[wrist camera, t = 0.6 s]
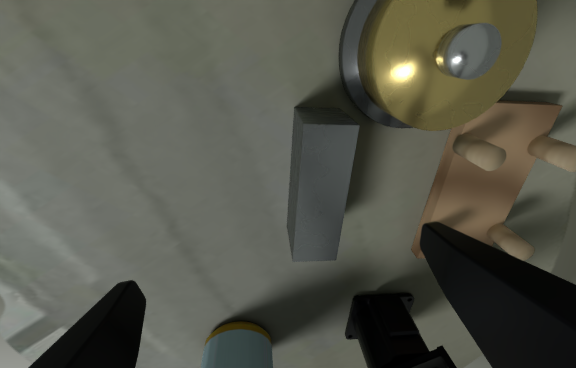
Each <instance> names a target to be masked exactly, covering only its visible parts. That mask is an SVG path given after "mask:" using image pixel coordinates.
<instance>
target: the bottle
mask: <svg viewBox="0 0 576 368" xmlns="http://www.w3.org/2000/svg"><path fill="white" fill-rule="evenodd" d="M201 368H273V360H272V345H271V338H270V336H269V335H268V333H267V332H266V331H265V330H264V329H262V328H261V327H260V326H258V325H256V324H253V323H250V322H243V321H238V322H231V323H228V324H225V325H222V326H221V327H219V328H217V329H216V330H215V331H214V332H213V333H211V334H210V336H209V337H208V338H207V340H206V343H205V347H204V352H203V358H202V363H201Z"/></svg>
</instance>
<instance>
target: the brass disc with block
mask: <svg viewBox="0 0 576 368" xmlns="http://www.w3.org/2000/svg"><path fill="white" fill-rule="evenodd" d="M475 23H489V24H492V25H494V26H495V27H496V28H497V29H498V30H499V32H500V35H501V41H502V44H501V50H500V53H499V56H498V58H497V60H496V62H495V63H494V65H493V66H492V67H491V68H490V69H489V70H488V71H487V72H486V73H485V74H483V75H482V76H480V77H478V78H475V79H471V80H466V79H460V78H455V77H449V76H446V75H444V74H443V73H442V72H441V71H440V70H439V68H438V66H437V61H436V55H437V50H438V47H439V45H440V43H441V41H442V39H443V38H444V36H445V35H446V34H447V33H448V32H449V31H450V30H452V29H453V28H455V27H457V26H459V25H463V24H475ZM536 25H537V0H377V1H376V3H375V4H374V6H373V7H372V9H371V11H370V13H369V14H368V17H367V19H366V21H365V23H364V26H363V29H362V32H361V35H360V40H359V44H358V54H357V65H358V72H359V77H360V81H361V84H362V86H363V89H364V91H365V92H366V94H367V96H368V97H369V99H370V100H371V101H372V102H373V103H374V104H375V105H376V106H377V107H378V108H379V109H381V110H382V111H384V112H386V113H387V114H389V115H391V116H393V117H395V118H396V119H398V120H400V121H402V122H404V123H405V124H407V125H409V126H412V127H414V128H417V129H422V130H429V131H438V130H446V129H451V128H454V127H458V126H460V125H463V124H465V123H468V122H469V121H471V120H473V119H475V118H477V117H478V116H480V115H481V114H483V113H484V112H486V111H487V110H488V109H489V108H491V107H492V106H493V105H494V104H495V103H496V102H497V101H498V100H499V99H500V98H501V97H502V96H503V95H504V94H505V93H506V92H507V90H508V89H509V88H510V87H511V85H512V84H513V82H514V81H515V80H516V78H517V77H518V75H519V73H520V71H521V70H522V68H523V66H524V64H525V62H526V60H527V58H528V55H529V53H530V50H531V47H532V44H533V40H534V36H535V32H536Z"/></svg>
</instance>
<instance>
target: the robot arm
mask: <svg viewBox="0 0 576 368" xmlns="http://www.w3.org/2000/svg"><path fill="white" fill-rule="evenodd" d="M420 248H421V251H422V253H423V255H424V257H425V258H426V260H427V262H428V264H429V266H430V268H431V270H432V272H433V274H434V276H435V278H436V280H437V282H438V284H439V285H440V287H441V289H442V291H443V293H444V294H445V296H446V298H447V299H448V301H449V302H450V304H451V305H452V307H453V309H454V310H455V312H456V313H457V315H458V316H459V318H460V319H461V321H462V322H463V324H464V325H465V327H466V328H467V330H468V331H469V333H470V334H471V336H472V337H473V339H474V340H475V342H476V344H477V345H478V347H479V348H480V350H481V351H482V353H483V354H484V356H485V357H486V359H487V360H488V362H489V363H490V365H491V366H492V368H576V285H575V284H573V283H570V282H569V281H566V280H564V279H562V278H560V277H558V276H555V275H553V274H551V273H549V272H547V271H545V270H542V269H540V268H538V267H536V266H534V265H532V264H529V263H527V262H525V261H523V260H521V259H518V258H516V257H514V256H512V255H510V254H508V253H505V252H503V251H501V250H499V249H497V248H494V247H492V246H490V245H488V244H486V243H484V242H481V241H479V240H477V239H475V238H473V237H470V236H468V235H466V234H464V233H462V232H460V231H457V230H455V229H453V228H451V227H449V226H446V225H444V224H442V223H440V222H437V221H433V222H428V223H424V224H423V225H422V229H421V236H420ZM413 301H414V297H413V295H412V294H410V293H407V294H385V295H364V296H356V297H354V298H353V301H352V305H351V310H350V314H349V318H348V323H347V327H346V331H345V336H346V338H347V339H358V341H359V344H360V347H361V349H362V352H363V355H364V358H365V361H366V364H367V367H368V368H457V367H456V366H455V364H454V363H453V361H452V360H451V358H450V357H449V355H448V353H447V352H446V350H445V349H444V347H443V346H439V347H437V349H435V350H433V351H429V350H428V348H427V346H426V344H425V342H424V341H423V339H422V337H421V335H420V333H419V330H418V328H417V326H416V324H415V323H414V321H413V319H412V317H411V316H410V314H409V312H410V309H411V307H412V304H413ZM145 308H146V299H145V296H144V294H143V293H142V291H141V290H140V288H139V286H138V285H137V283H136V282H135V281H133V280H130V281H124V282H120V283H118V284H117V285H116V286H114V287H113V288H112V289H111V290H110V291H109V292H108V293H107V294H106V295H105V296H104V297H103V298H102V299H101V300H100V301H99V302H97V303H96V304H95V305H94V306H93V307H92V308H91V309H90V310H89V311H88V312H87V313H86V314H85V315H84V316H83V317H82V318H81V319H79V320H78V321H77V322H76V323H75V324H74V325H73V326H72V327H71V328H70V329H69V330H68V331H67V332H66V333H65V334H64V335H62V336H61V337H60V338H59V339H58V340H57V341H56V342H55V343H54V344H53V345H52V346H51V347H50V348H49V349H48V350H47V351H46V352H44V353H43V354H42V355H41V356H40V357H39V358H38V359H37V360H36V361H35V362H34V363H33V364H32V365H31V366H30V367H29V368H135V366H136V362H137V357H138V352H139V347H140V340H141V334H142V328H143V321H144V315H145Z"/></svg>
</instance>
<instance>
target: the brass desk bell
mask: <svg viewBox="0 0 576 368" xmlns="http://www.w3.org/2000/svg"><path fill="white" fill-rule="evenodd" d="M376 1H377V0H355V1H354V3H353V5H352V6H351V8H350V10H349V13H348V15H347V17H346V20H345V23H344V26H343V29H342V33H341V38H340V44H339V69H340V74H341V79H342V82H343V85H344V88H345V90H346V92H347V94H348V96H349V97H350V99H351V101H352V102H353V103H354V104H355V106H356V107H357V108H358V109H359V110H360V111H362V112H363V113H364V114H365V115H367V116H368V117H370V118H371V119H373V120H375V121H376V122H378V123H381V124H383V125H386V126H390V127H395V128H413V127H412V126H409V125H407V124H405V123H404V122H402V121H400V120H398V119H396V118H395V117H393V116H391V115H389V114H387V113H386V112H384V111H382V110H381V109H379V108H378V107H377V106H376V105H375V104H374V103H373V102H372V101H371V100H370V99H369V97H368V96H367V94H366V92H365V91H364V89H363V86H362V84H361V81H360V77H359V72H358V65H357V54H358V44H359V40H360V35H361V32H362V29H363V26H364V23H365V21H366V19H367V17H368V14H369V13H370V11H371V9H372V7H373V6H374V4H375V3H376ZM501 44H502V41H501V35H500V32H499V30H498V29H497V28H496V27H495V26H494V25H492V24H489V23H475V24H463V25H459V26H457V27H455V28H453V29H452V30H450V31H449V32H448V33H447V34H446V35H445V36H444V38H443V39H442V41H441V43H440V45H439V47H438V50H437V55H436V61H437V66H438V68H439V70H440V71H441V72H442V73H443V74H444V75H446V76H449V77H455V78H460V79H466V80H471V79H475V78H478V77H480V76H482V75H483V74H485V73H486V72H487V71H488V70H489V69H490V68H491V67H492V66H493V65H494V63H495V62H496V60H497V58H498V56H499V53H500V50H501Z"/></svg>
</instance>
